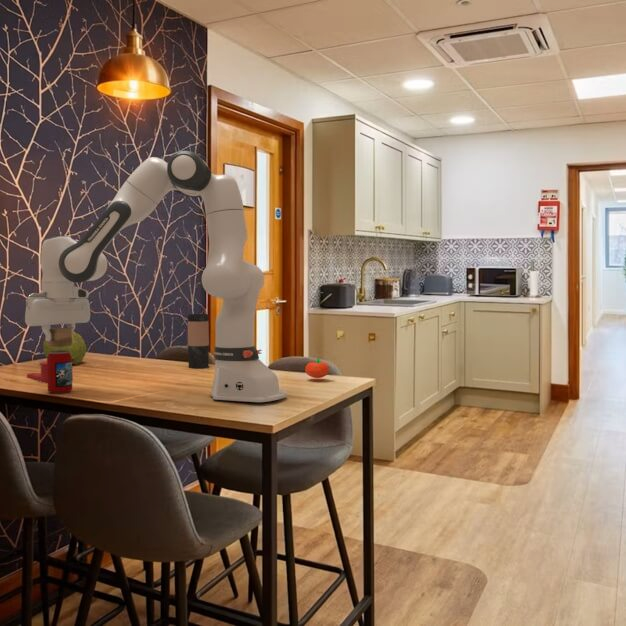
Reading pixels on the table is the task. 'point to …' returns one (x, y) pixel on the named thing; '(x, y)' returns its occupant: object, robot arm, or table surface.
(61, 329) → the walnut cube
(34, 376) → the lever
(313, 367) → the red tomato
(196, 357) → the travel mug
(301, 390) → the table surface
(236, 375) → the robot arm
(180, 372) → the table surface
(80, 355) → the fruit
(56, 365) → the beverage can
